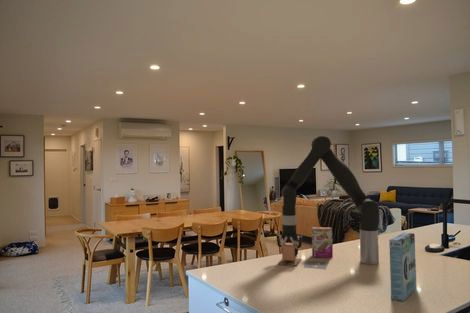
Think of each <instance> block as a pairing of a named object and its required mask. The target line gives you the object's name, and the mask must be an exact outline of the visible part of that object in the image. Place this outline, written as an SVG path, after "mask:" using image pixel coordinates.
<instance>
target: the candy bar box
mask: <svg viewBox="0 0 470 313" xmlns="http://www.w3.org/2000/svg"><path fill="white" fill-rule="evenodd" d="M333 236H334V235H333V228H332V227H325V226H324V227H322V226H320V227H318V226H317V227H316V226H315V227H314V226H312V227H311V256H312V258H320V259H321V258H323V259H325V258H329V259H331V258H333V257H334V255H333V254H334V253H333V251H334V248H333V244H334V243H333V238H334V237H333Z"/></svg>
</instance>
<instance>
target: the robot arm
mask: <svg viewBox="0 0 470 313" xmlns="http://www.w3.org/2000/svg"><path fill="white" fill-rule="evenodd" d="M331 145H332V142H331V139H330V138H329V137H327V136H326V135H320V136H317V137H315V138H313V139H312V142H311V150H310V152H309V153H308V154H307V156H306V157H305V159H304V160H303V161H302V162H301V163H300V164H299V166H297V168H296V170H294V173H293V174H292V175H291V177H290V179H289V180H288V181H287V182H286V183H285V185H284V186H283V187H282V189H281V191H280V192H281V197H282V198H283V205H282V211H281V212H282V214H281V215H282V217H281V228H282V229H281V234H277V235H276V242H277V243H276V244H277V247H280V248H281V252H280V253H281V254H282V246H283V245H285V244H286V243H293V245H294V246H295V256H297V257H298V254H299V249H301V248H302V243H303V235H298V234H297V215H296V214H297V213H296V205H297V204H296V203H297V190H299V187H301V186H302V185H303V184H304V183H305V182H306V180H307V178H308V177H309V175H310V173H311V172H312V171H313V169H314V168H315V167H316V164H317V163H318V162H319V161H320V160H321V161H322V162H323V163H324V165H325V166H326V167H327V169H328V171H329V172H330V174H331V176H333V178H334V179H335V181H336V182H337V183H338V185H339V186H340V187H341V188H342V190H343V191H344V192H345V193H346V194H347V195H348V196H349V197H350V199H351V200H352V201H351V202H353V204H354V205H355V207H356V209H357V211H358V212H359V214H361V218H360V224H359V254H360V255H359V262H360V263H362V264H367V265H380V257H379V255H380V254H379V253H380V252H379V251H380V250H379V225H380V206H379V204H378V203H377V202H376V201H375V200H373V199H370V198H369V197H368V196H367V195H366V193H365V192H364V191H363V190H362V188H361V187H360V184H359V181H358V179H357V178H356V176H355V175H354V173H353V171H352V170H351V169H350V168H349V166H348V165H347V164H346V163H344V162H343V161H342V160H341V159H339V157H338V156H336V154H335V152H333V150H332V148H331ZM281 239H283V241H281ZM296 240H298V244H297V241H296Z"/></svg>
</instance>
